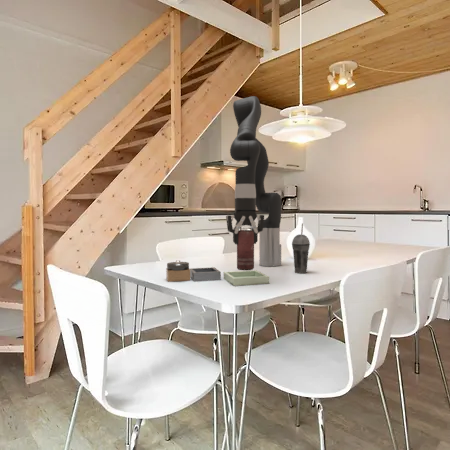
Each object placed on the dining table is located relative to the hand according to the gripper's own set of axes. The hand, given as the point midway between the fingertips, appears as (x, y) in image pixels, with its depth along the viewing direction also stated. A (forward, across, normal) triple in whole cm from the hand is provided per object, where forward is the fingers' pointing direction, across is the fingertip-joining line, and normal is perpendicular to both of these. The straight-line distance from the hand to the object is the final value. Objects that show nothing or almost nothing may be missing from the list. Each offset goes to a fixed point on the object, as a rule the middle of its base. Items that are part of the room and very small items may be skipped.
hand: (245, 243), depth 128 cm
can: (+9, 0, 0) cm, 9 cm away
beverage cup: (+14, -27, -10) cm, 32 cm away
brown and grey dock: (+14, +17, -10) cm, 24 cm away
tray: (+14, 0, 0) cm, 14 cm away
